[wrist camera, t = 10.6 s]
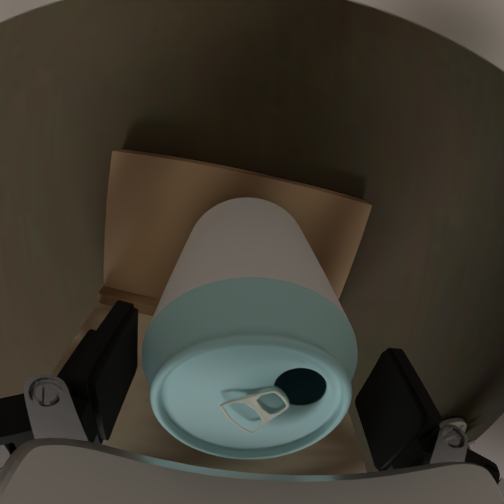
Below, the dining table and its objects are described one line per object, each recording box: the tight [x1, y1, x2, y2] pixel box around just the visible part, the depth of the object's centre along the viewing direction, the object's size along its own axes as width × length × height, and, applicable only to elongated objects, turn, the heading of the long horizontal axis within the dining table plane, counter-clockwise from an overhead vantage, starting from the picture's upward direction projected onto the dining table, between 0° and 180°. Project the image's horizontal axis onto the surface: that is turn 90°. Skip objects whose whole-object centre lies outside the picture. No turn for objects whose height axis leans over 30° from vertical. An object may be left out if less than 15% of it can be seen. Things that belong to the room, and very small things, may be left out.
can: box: [142, 197, 357, 460], centre depth 13 cm, size 7×7×12 cm
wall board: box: [51, 149, 372, 475], centre depth 13 cm, size 16×11×16 cm
